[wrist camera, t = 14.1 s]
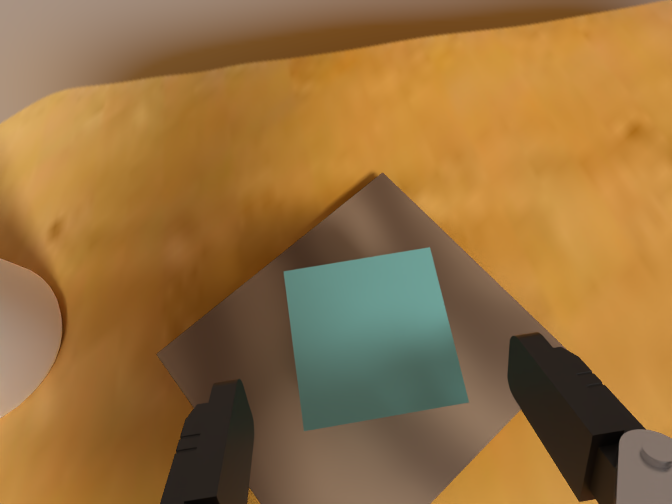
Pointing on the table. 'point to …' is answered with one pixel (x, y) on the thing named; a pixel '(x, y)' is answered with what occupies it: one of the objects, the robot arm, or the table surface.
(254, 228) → the table surface
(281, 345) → the post board
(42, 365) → the alcohol
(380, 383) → the tall teal pillar
